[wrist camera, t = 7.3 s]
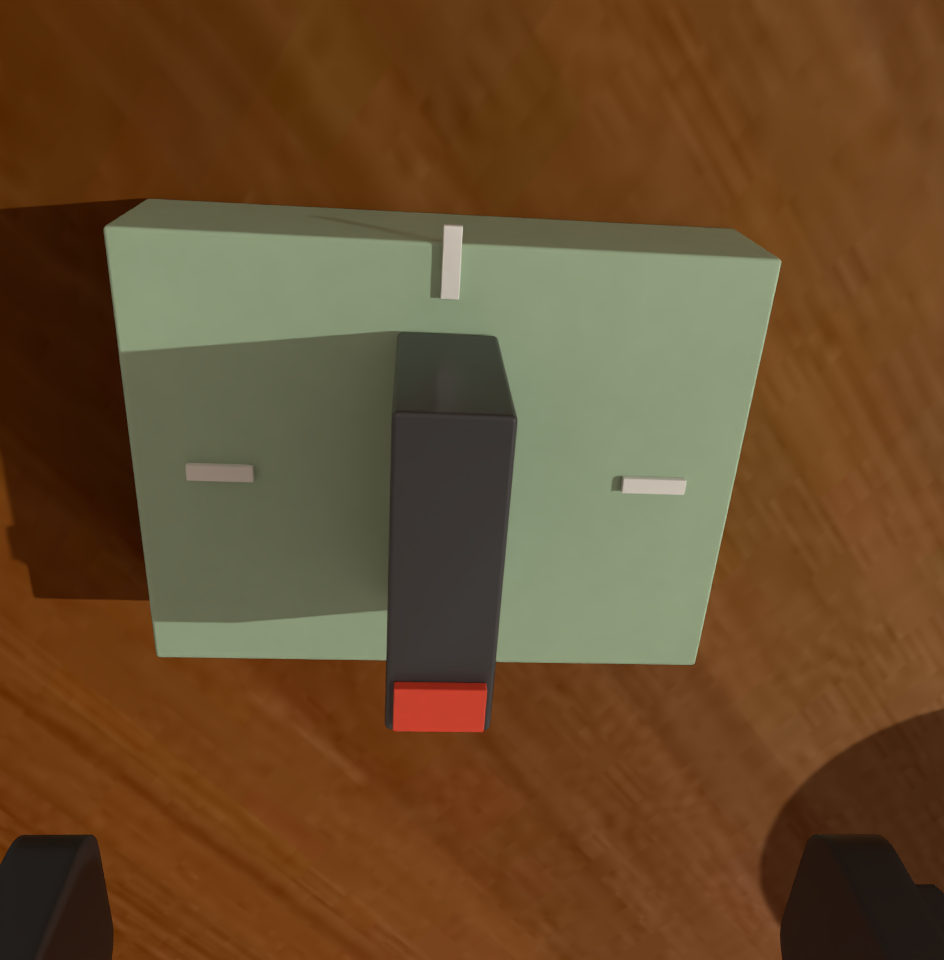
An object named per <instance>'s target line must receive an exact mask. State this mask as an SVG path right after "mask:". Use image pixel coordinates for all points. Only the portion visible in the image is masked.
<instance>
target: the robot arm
mask: <svg viewBox="0 0 944 960" xmlns="http://www.w3.org/2000/svg"><path fill="white" fill-rule="evenodd" d="M780 942H781V953H782V959H783V960H944V893H943V892H942V891H940V890H939V889H938V888H937V887H936V886H935V885H934V884H921V885H915V884H914V882H913V880H912V878H911V877H910V875H909V873H908V872H907V870H906V868H905V866H904V865H903V863H902V861H901V860H900V858H899V856H898V855H897V853H896V851H895V850H894V848H893V847H892V845H891V844H890V843H889V842H888V841H887V840H886V839H885V838H884V837H882V836H880V835H877V834H821V835H813V836H812V837H810V838H809V840H808V841H807V844H806V846H805V849H804V852H803V855H802V859H801V862H800V865H799V868H798V871H797V874H796V877H795V880H794V883H793V887H792V890H791V893H790V896H789V899H788V902H787V905H786V908H785V911H784V915H783V918H782V922H781V931H780ZM112 951H113V923H112V917H111V912H110V906H109V901H108V895H107V890H106V884H105V879H104V873H103V868H102V862H101V857H100V851H99V846H98V842H97V840H96V838H95V837H94V836H93V835H21V836H19V837H18V838H17V839H16V840H15V841H14V842H13V843H12V844H11V846H10V847H9V849H8V851H7V853H6V855H5V857H4V859H3V861H2V863H1V865H0V960H112Z"/></svg>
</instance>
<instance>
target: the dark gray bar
mask: <svg viewBox="0 0 944 960" xmlns="http://www.w3.org/2000/svg"><path fill="white" fill-rule="evenodd" d="M517 424H518V419H517V415H516V411H515V407H514V403H513V399H512V395H511V391H510V387H509V383H508V379H507V374H506V370H505V366H504V362H503V358H502V354H501V350H500V346H499V342H498V339H497V337H495V336H481V335H457V334H434V333H410V332H401V333H399V334H398V336H397V348H396V362H395V376H394V389H393V403H392V420H391V466H390V512H389V558H388V604H387V650H386V696H385V725H386V727H387V728H388V729H393V731H422V732H483V731H484V730H487V729H488V728H489V726H490V720H491V709H492V698H493V687H494V676H495V665H496V654H497V643H498V633H499V622H500V611H501V600H502V589H503V578H504V567H505V556H506V545H507V534H508V523H509V512H510V501H511V490H512V479H513V468H514V457H515V446H516V435H517Z"/></svg>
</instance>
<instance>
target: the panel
mask: <svg viewBox="0 0 944 960" xmlns="http://www.w3.org/2000/svg"><path fill="white" fill-rule="evenodd" d="M104 238H105V246H106V254H107V262H108V270H109V278H110V287H111V295H112V303H113V311H114V319H115V327H116V335H117V343H118V351H119V359H120V367H121V375H122V383H123V391H124V399H125V407H126V415H127V423H128V431H129V439H130V447H131V455H132V463H133V471H134V479H135V487H136V495H137V503H138V511H139V519H140V527H141V535H142V543H143V551H144V559H145V567H146V575H147V583H148V591H149V599H150V607H151V615H152V623H153V632H154V640H155V648H156V654H157V656H158V657H200V658H267V659H335V660H386V650H387V604H388V558H389V512H390V466H391V420H392V403H393V389H394V376H395V362H396V348H397V336H398V334H399V333H401V332H410V333H434V334H457V335H481V336H495V337H497V339H498V342H499V346H500V350H501V354H502V358H503V362H504V366H505V370H506V374H507V379H508V383H509V387H510V391H511V395H512V399H513V403H514V407H515V411H516V415H517V419H518V424H517V435H516V446H515V457H514V468H513V479H512V490H511V501H510V512H509V523H508V534H507V545H506V556H505V567H504V578H503V589H502V600H501V611H500V622H499V633H498V643H497V654H496V662H537V663H604V664H671V665H693V664H694V663H695V660H696V655H697V651H698V646H699V641H700V637H701V632H702V627H703V623H704V618H705V614H706V609H707V604H708V600H709V595H710V590H711V586H712V581H713V577H714V572H715V567H716V563H717V558H718V553H719V549H720V544H721V540H722V535H723V530H724V526H725V521H726V516H727V512H728V507H729V503H730V498H731V493H732V489H733V484H734V479H735V475H736V470H737V466H738V461H739V456H740V452H741V447H742V442H743V438H744V433H745V429H746V424H747V419H748V415H749V410H750V405H751V401H752V396H753V392H754V387H755V382H756V378H757V373H758V368H759V364H760V359H761V355H762V350H763V345H764V341H765V336H766V331H767V327H768V322H769V318H770V313H771V308H772V304H773V299H774V294H775V290H776V285H777V281H778V276H779V271H780V267H781V260H780V259H779V258H777V257H776V256H774V255H773V254H771V253H770V252H768V251H767V250H765V249H764V248H762V247H760V246H759V245H757V244H756V243H754V242H753V241H751V240H750V239H748V238H747V237H745V236H744V235H742V234H741V233H739V232H737V231H736V230H734V229H725V228H705V227H686V226H667V225H647V224H628V223H608V222H589V221H570V220H550V219H531V218H512V217H492V216H473V215H453V214H434V213H415V212H395V211H376V210H357V209H337V208H318V207H298V206H279V205H260V204H240V203H221V202H202V201H182V200H163V199H147V200H145V201H143V202H142V203H140V204H139V205H137V206H136V207H134V208H132V209H131V210H129V211H128V212H126V213H125V214H123V215H122V216H120V217H118V218H117V219H115V220H114V221H112V222H111V223H109V224H107V225H106V226H104Z"/></svg>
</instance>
